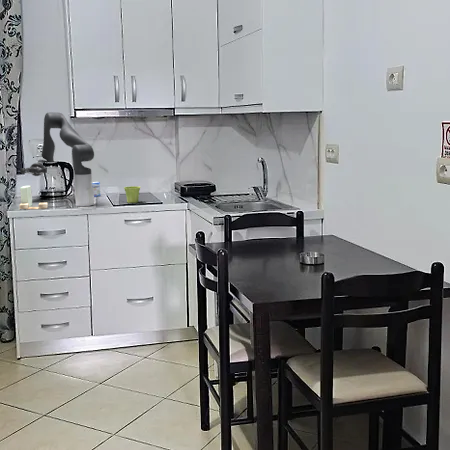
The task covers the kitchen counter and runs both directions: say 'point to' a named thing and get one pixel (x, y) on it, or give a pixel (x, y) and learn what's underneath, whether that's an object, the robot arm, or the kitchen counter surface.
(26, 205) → the slot board
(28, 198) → the tall mint green pillar
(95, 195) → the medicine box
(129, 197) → the plant pot
